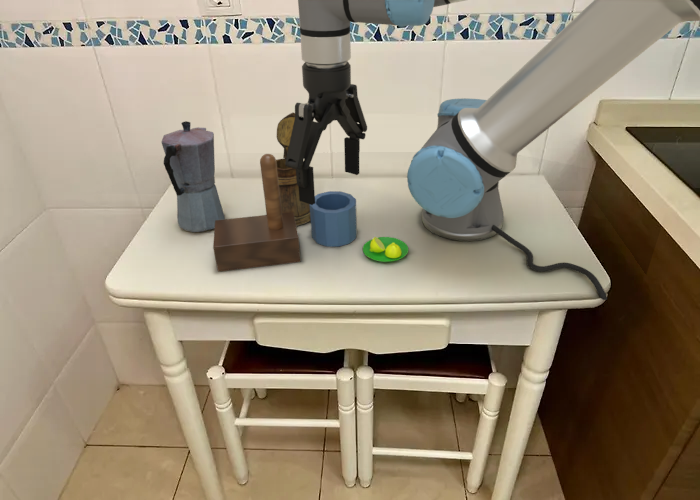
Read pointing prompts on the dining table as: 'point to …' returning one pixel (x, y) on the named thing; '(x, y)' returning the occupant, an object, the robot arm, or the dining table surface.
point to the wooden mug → (289, 176)
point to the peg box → (258, 231)
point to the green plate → (385, 249)
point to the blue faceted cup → (333, 218)
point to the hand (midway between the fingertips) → (330, 186)
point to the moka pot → (193, 177)
